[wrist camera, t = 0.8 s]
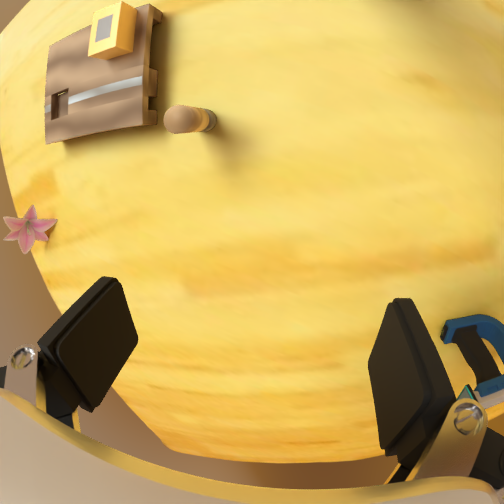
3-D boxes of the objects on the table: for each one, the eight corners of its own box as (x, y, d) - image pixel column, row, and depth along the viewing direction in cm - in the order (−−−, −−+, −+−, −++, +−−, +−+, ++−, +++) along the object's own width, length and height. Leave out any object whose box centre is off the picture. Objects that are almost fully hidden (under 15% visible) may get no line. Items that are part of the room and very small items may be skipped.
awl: (194, 110, 31) (163, 106, 23) (216, 108, 31) (191, 103, 23) (194, 131, 33) (163, 134, 25) (216, 131, 32) (191, 132, 24)
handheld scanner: (435, 320, 39) (473, 407, 22) (495, 308, 36) (538, 378, 19) (429, 338, 41) (460, 423, 24) (488, 325, 38) (525, 394, 21)
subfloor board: (64, 48, 27) (49, 46, 24) (162, 12, 25) (149, 3, 21) (61, 141, 35) (45, 144, 32) (157, 124, 33) (142, 124, 29)
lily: (37, 243, 47) (25, 272, 40) (7, 207, 39) (-11, 233, 32) (70, 217, 47) (59, 245, 40) (38, 176, 39) (19, 199, 32)
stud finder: (110, 19, 22) (93, 12, 19) (137, 9, 22) (121, 1, 18) (106, 60, 25) (87, 56, 22) (132, 52, 25) (115, 46, 21)
